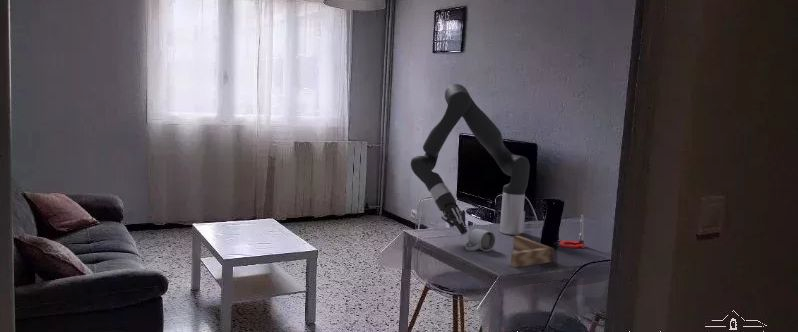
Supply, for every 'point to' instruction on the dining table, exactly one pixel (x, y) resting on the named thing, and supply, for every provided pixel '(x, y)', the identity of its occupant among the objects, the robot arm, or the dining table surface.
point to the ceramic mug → (480, 240)
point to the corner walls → (530, 252)
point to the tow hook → (578, 244)
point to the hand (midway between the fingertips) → (464, 233)
